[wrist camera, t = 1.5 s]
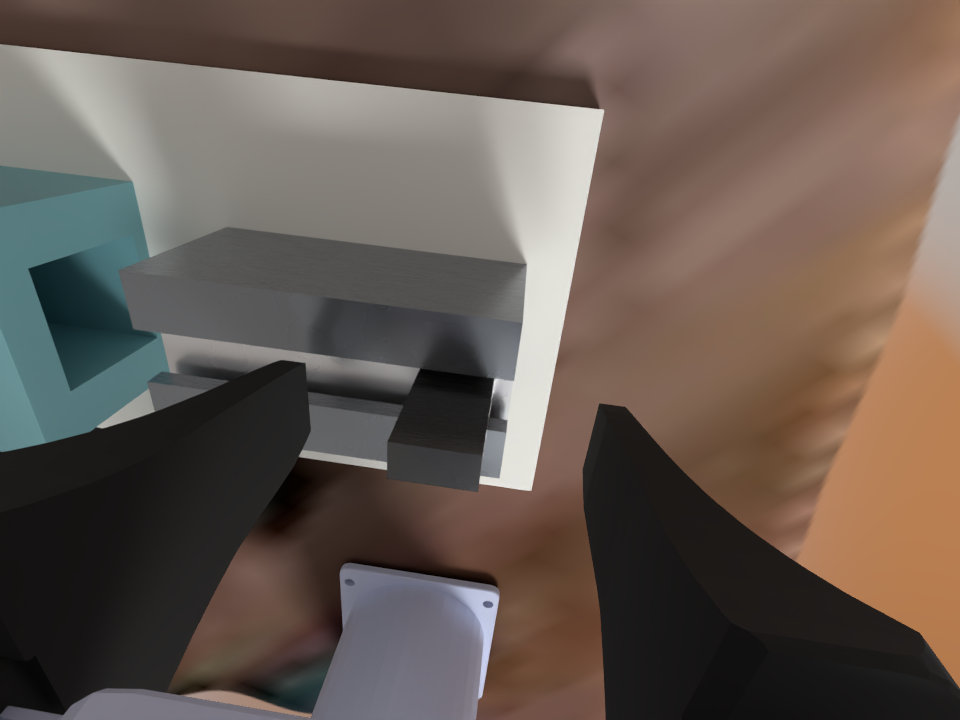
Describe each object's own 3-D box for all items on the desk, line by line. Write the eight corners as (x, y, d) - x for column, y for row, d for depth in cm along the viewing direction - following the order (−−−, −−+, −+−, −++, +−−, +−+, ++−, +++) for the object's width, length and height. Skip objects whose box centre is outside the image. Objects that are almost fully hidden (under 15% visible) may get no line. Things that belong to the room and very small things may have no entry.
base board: (531, 475, 21) (531, 491, 20) (44, 404, 22) (23, 416, 21) (600, 109, 15) (603, 110, 14) (-98, 33, 16) (-135, 29, 15)
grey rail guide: (508, 391, 18) (499, 478, 14) (245, 354, 19) (159, 428, 14) (527, 264, 16) (522, 323, 12) (227, 226, 16) (118, 270, 12)
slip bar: (510, 382, 17) (496, 528, 11) (229, 343, 17) (73, 464, 12) (522, 300, 15) (512, 419, 10) (215, 260, 16) (30, 351, 10)
